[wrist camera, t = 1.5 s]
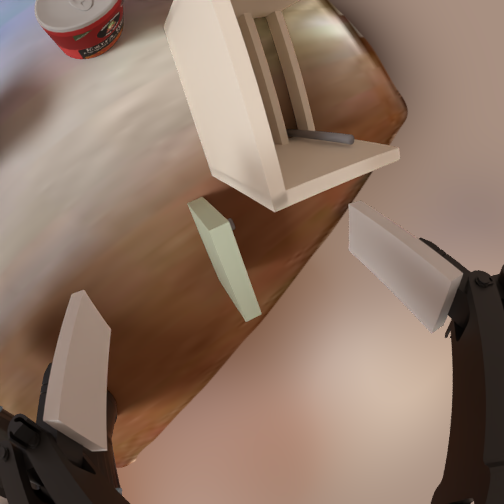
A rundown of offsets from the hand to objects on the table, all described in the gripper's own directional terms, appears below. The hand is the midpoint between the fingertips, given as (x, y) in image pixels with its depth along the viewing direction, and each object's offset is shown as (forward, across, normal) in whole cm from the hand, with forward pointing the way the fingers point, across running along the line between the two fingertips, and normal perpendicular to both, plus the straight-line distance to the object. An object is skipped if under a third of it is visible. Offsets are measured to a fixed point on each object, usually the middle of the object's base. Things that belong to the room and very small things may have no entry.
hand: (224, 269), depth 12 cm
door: (+22, 0, +11) cm, 24 cm away
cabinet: (+24, -9, -8) cm, 27 cm away
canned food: (+23, +7, -20) cm, 31 cm away
